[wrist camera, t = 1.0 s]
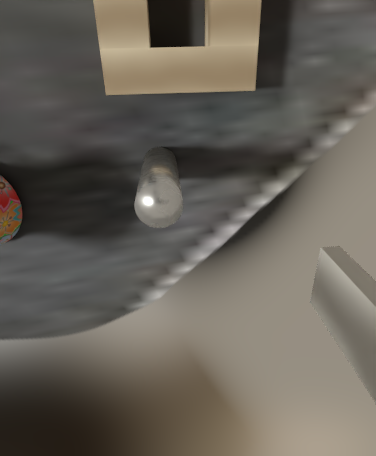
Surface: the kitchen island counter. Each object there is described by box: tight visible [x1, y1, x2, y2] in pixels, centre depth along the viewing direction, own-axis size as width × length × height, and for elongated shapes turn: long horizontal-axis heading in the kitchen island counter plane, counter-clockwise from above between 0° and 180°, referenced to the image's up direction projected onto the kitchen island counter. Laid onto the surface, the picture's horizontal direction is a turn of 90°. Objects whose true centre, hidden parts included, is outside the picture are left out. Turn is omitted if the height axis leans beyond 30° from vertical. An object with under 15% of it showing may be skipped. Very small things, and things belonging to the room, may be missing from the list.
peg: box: [134, 147, 183, 228], centre depth 23 cm, size 3×3×10 cm
